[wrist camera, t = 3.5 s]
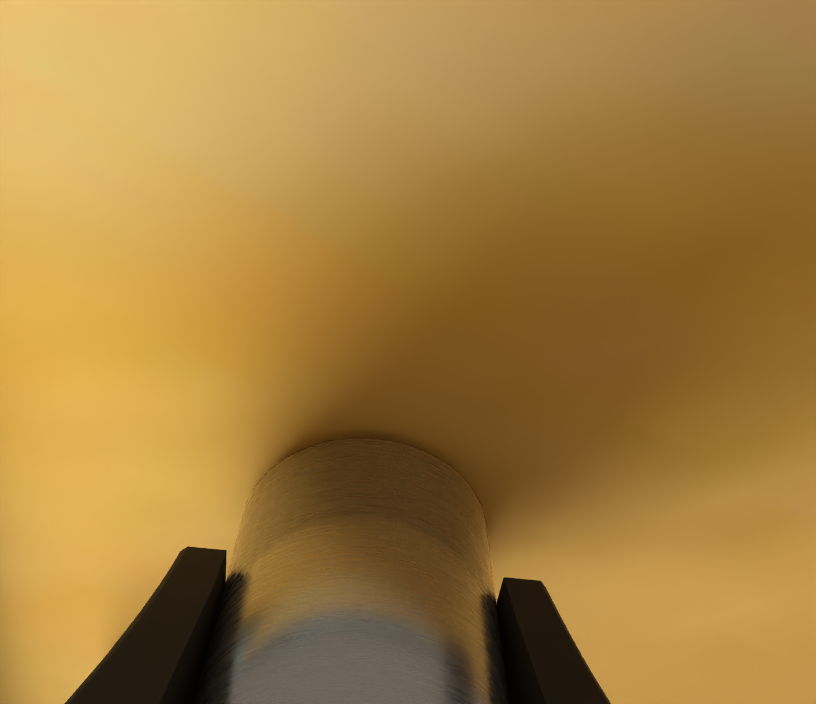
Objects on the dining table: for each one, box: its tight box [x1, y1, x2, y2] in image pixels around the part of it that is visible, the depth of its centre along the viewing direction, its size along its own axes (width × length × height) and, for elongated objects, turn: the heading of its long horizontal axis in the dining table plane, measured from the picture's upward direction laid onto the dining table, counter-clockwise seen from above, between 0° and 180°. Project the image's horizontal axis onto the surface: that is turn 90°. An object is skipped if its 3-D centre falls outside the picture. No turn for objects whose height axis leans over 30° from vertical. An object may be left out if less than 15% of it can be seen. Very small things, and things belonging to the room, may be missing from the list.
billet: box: [194, 438, 510, 704], centre depth 12 cm, size 4×4×6 cm
